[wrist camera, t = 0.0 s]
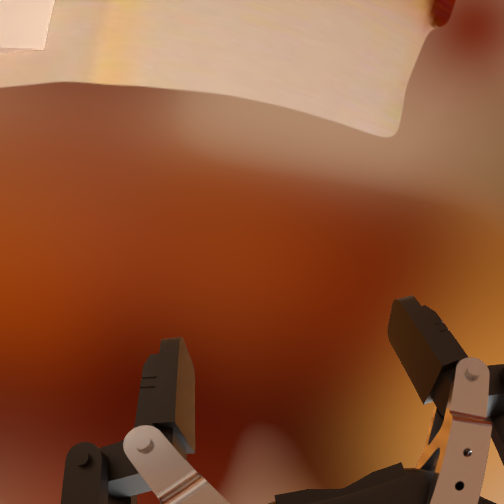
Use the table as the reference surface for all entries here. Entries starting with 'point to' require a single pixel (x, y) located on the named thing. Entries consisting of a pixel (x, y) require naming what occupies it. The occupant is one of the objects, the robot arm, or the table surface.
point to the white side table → (24, 25)
